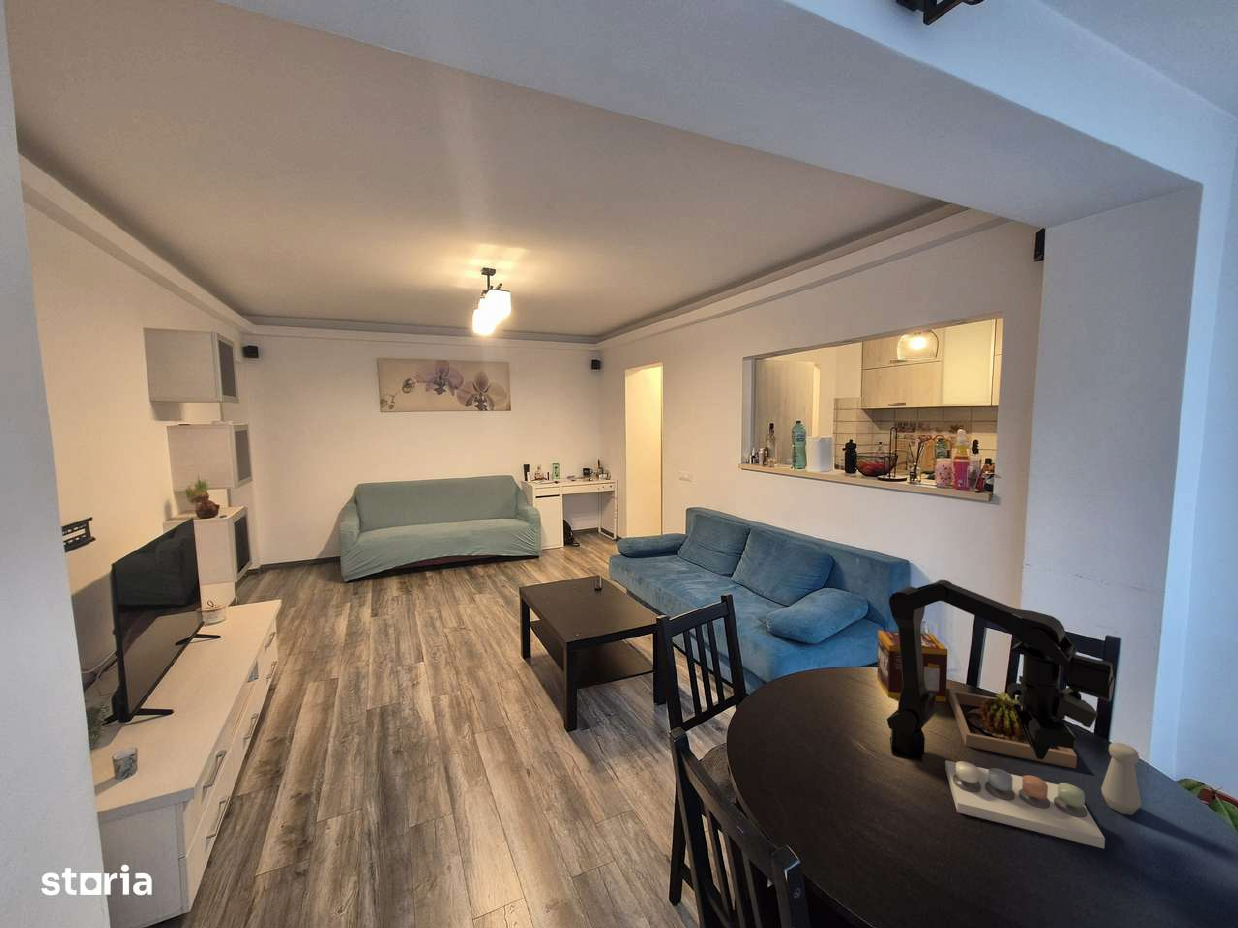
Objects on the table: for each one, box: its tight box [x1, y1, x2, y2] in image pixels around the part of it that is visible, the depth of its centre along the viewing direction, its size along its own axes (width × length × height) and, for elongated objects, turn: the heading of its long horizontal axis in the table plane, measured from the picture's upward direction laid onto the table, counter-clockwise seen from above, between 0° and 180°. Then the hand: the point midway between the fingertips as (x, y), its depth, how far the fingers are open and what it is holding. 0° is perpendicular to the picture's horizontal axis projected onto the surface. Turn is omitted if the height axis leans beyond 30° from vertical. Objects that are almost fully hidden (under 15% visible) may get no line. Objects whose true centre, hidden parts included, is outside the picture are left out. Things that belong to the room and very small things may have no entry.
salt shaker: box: [1100, 742, 1142, 816], centre depth 103 cm, size 6×6×13 cm
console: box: [944, 759, 1106, 849], centre depth 105 cm, size 23×14×2 cm, turn 66°
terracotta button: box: [1022, 774, 1048, 799], centre depth 104 cm, size 4×4×2 cm
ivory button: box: [956, 760, 979, 783], centre depth 108 cm, size 4×4×2 cm
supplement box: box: [876, 630, 948, 702], centre depth 149 cm, size 10×15×16 cm
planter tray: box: [948, 689, 1078, 769], centre depth 129 cm, size 21×22×3 cm
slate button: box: [988, 767, 1013, 791], centre depth 106 cm, size 4×4×2 cm
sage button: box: [1058, 782, 1086, 807], centre depth 101 cm, size 4×4×2 cm
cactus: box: [966, 691, 1029, 744], centre depth 130 cm, size 17×16×10 cm
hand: (1036, 752), depth 103 cm, fingers open, 3 cm apart
